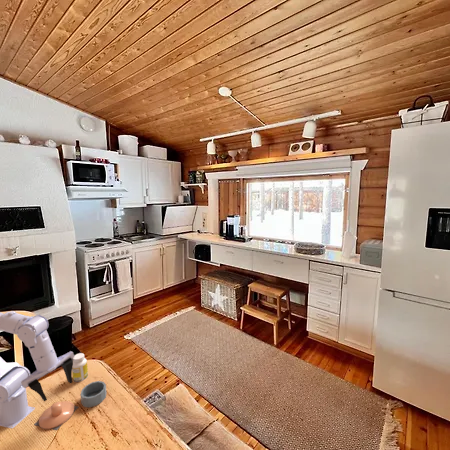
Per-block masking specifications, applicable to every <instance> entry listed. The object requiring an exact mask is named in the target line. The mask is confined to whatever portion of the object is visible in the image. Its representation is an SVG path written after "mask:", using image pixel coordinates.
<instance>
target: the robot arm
mask: <svg viewBox="0 0 450 450" xmlns="http://www.w3.org/2000/svg"><path fill="white" fill-rule="evenodd" d="M49 325H50V324H49V320H48V319H47V318H46V317H45V316H43V315H41V314H36V315H34V316H33V315H31V316H29V315H24V314H21V313H18V312H16V311H14V310H11V311H7V312H4V313H3V312H2V311H0V331H3V332H6V333H10V334H14V335H17V336H16V337H17V338H18V339H19V341H22V342H23V343H24V346H25V347H26V348H28V351H29V353H30V356H31V358H32V360H33V362H34V365H35V368H36V370H35V371H33V372H32V373H31V371H30V370H29V369H28V368H27V367H26V366H23V365H21V364H20V363H18V362H17V361H15V362H13V361H12V362H6V361H5V360H4V359H3V358H2V357H1V356H0V427H4V428H8V429H14V428H15V427H16V426H17V425H19V423H21V422H22V421H23V420H24V419H26V417H28V416H29V415H30V414H31V413H32V412H34V410H35V409H36V407H33V406H30V405H29V402H28V397H27V396H28V395H27V394H28V393H27V388H29V389H31V390H32V391H33V392H35V393H37V394H38V395H39V396H40V398H41V399H42V401H44V402H46V401H47V400H48V399H47V398H48V397H47V396H46V394H45V393H44V391H43V387H42V384H41V382H40V381H39V379H41V378H42V377H44V376H46V375H47V374H48V373H51V372H53V371H54V370H56V369H57V368H59V367H60V366H61V367H62V370H63V371H64V374H65V377H66V380H67V382H68V383H69V384H72V383H73V374H72V366H73V358H74V356H75V354H74V352H73V351H71V350H70V351H69V352H67V353H65V354H63V355H60V356H58V357H57V353H56V351H55V349H54V346H53V344H52V341H51V338H50V336H49V333H48V331H47V330H48V328H49Z"/></svg>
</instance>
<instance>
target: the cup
mask: <svg viewBox="0 0 450 450" xmlns="http://www.w3.org/2000/svg"><path fill="white" fill-rule="evenodd" d="M79 396H80V401H81V404H82V406H83V407H84V408H92V407H97V406H98V405H100V404H101V403H102V402H104V400H106V398H107V384H106V382H105V381H101V380H97V381H92V382H90V383H88V384H86V385H85V386H84V387H83V388H82V389H81V392H80V395H79Z"/></svg>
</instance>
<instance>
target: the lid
mask: <svg viewBox="0 0 450 450" xmlns="http://www.w3.org/2000/svg"><path fill="white" fill-rule="evenodd" d="M74 406H75V404H74V403H73V402H72V401H69V400H66V401H65V400H63V401H57V402H54V403H52V404H51V406H49V407H47V408H46V409H45V410H44V411H43V412H42V413H41V414H40V415H39V418H38V420H39V426H38V427H39V428H41V429H43V430H53V429H52V428H55V427H58V426H60V425H61V426H63V424H65V423H66V422H67V421H69V420H70V419H71V417H72V416H73V415H74Z"/></svg>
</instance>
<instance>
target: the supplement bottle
mask: <svg viewBox="0 0 450 450" xmlns="http://www.w3.org/2000/svg"><path fill="white" fill-rule="evenodd" d="M72 360H73V366H72V382H75V383H80V382H83V381H84V380H86V379H87V378H88V377H89V369H88V360H87V358H85V354H84V353H82V352H79V353H76V354H74V358H72Z"/></svg>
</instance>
